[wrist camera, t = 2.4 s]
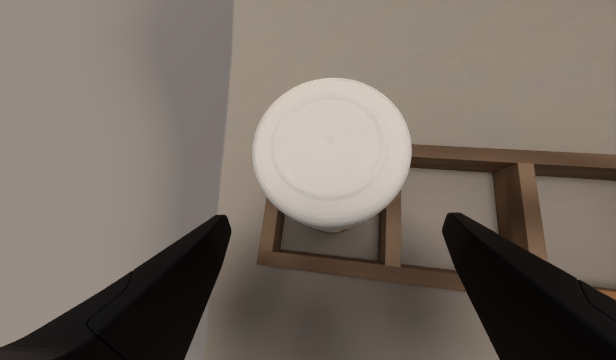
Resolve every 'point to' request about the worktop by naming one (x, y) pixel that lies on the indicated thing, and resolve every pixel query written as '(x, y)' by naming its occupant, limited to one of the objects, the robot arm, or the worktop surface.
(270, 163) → the sprinkles bottle
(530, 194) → the rack
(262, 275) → the worktop surface
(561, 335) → the robot arm
